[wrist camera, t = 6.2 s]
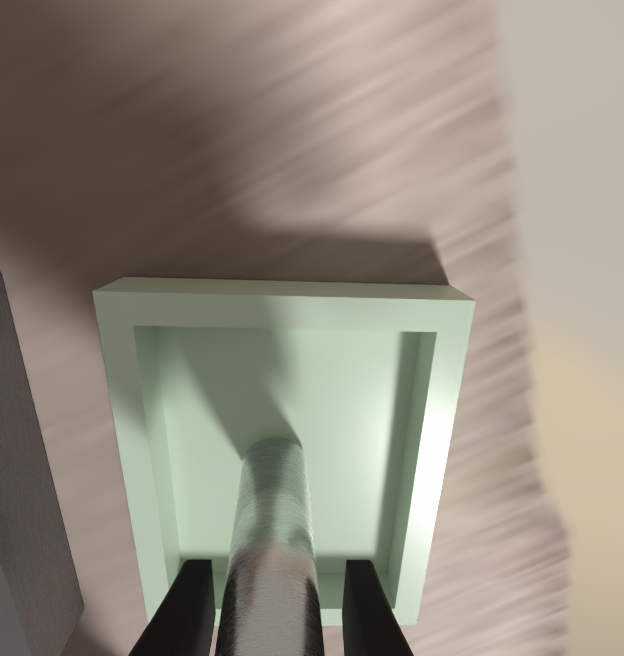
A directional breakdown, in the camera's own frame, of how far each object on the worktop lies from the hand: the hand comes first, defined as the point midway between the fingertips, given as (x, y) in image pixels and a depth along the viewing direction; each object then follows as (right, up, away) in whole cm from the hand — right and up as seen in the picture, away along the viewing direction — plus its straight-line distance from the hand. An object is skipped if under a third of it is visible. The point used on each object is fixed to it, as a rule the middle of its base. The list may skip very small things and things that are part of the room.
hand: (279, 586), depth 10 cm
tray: (0, +2, +5) cm, 5 cm away
